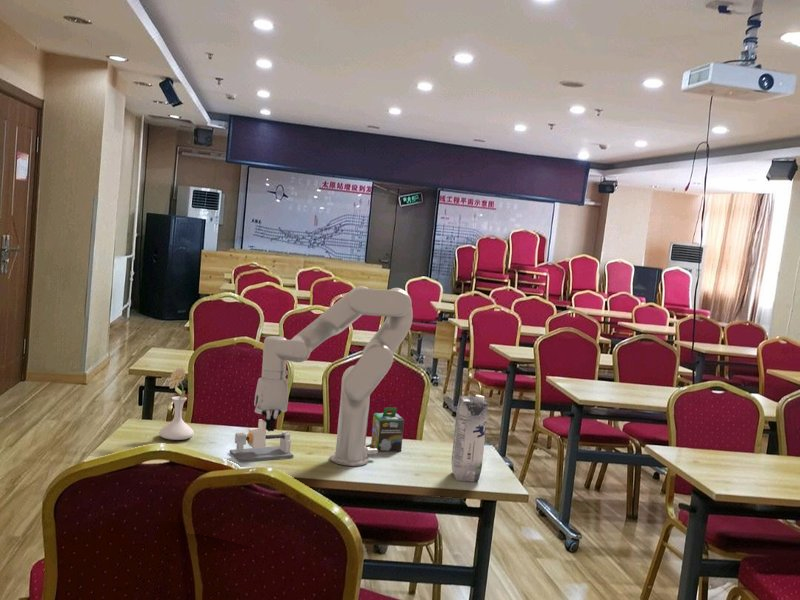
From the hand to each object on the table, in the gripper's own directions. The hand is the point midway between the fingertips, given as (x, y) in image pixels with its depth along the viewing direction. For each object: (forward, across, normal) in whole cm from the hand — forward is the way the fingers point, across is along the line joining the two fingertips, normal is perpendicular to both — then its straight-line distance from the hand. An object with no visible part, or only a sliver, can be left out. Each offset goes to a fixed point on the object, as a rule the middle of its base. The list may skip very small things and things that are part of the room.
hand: (269, 430), depth 239 cm
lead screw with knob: (+4, +1, 0) cm, 4 cm away
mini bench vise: (+8, +2, 0) cm, 9 cm away
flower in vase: (+8, +23, -24) cm, 34 cm away
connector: (+7, +10, 0) cm, 12 cm away
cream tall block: (+5, +4, 0) cm, 6 cm away
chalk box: (+9, -44, +2) cm, 45 cm away
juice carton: (+9, -53, +37) cm, 65 cm away
